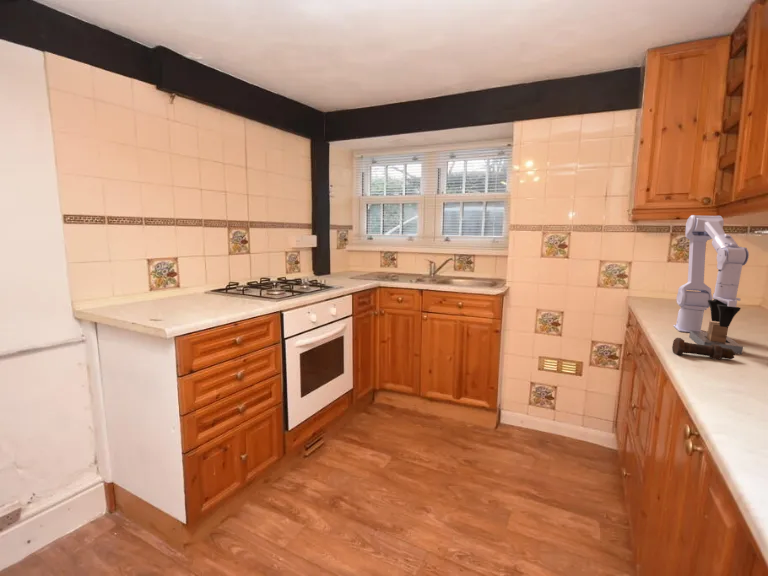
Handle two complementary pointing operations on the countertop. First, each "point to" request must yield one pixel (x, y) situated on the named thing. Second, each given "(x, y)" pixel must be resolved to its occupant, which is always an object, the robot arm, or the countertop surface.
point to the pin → (716, 332)
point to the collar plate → (702, 340)
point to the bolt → (702, 349)
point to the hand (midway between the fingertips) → (719, 323)
